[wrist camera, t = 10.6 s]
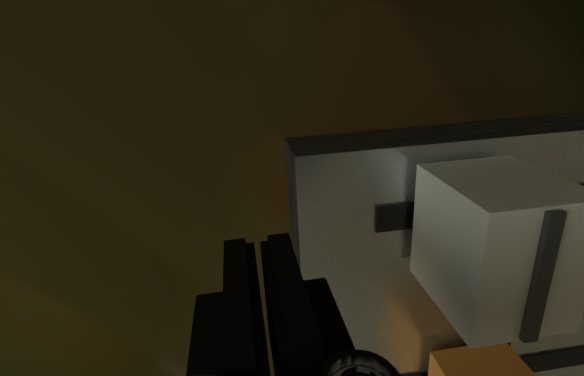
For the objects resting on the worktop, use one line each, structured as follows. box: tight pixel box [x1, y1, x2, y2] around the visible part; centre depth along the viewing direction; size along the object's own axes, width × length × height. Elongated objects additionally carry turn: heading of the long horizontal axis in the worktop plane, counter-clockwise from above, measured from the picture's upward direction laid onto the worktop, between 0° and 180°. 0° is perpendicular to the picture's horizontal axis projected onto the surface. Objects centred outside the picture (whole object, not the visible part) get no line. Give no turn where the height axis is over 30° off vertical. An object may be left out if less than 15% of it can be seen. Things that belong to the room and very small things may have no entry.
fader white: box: [410, 155, 584, 348], centre depth 11 cm, size 3×4×4 cm
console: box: [285, 112, 584, 376], centre depth 17 cm, size 23×13×3 cm, turn 93°
